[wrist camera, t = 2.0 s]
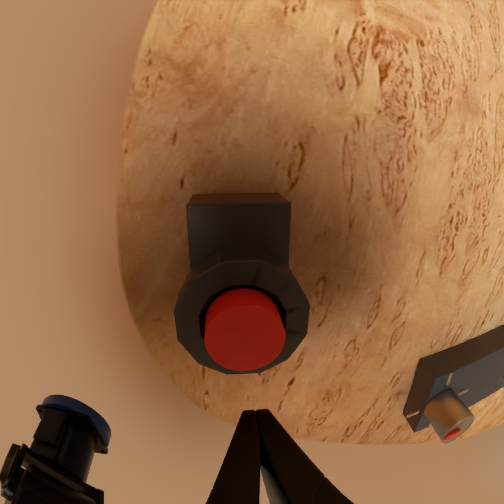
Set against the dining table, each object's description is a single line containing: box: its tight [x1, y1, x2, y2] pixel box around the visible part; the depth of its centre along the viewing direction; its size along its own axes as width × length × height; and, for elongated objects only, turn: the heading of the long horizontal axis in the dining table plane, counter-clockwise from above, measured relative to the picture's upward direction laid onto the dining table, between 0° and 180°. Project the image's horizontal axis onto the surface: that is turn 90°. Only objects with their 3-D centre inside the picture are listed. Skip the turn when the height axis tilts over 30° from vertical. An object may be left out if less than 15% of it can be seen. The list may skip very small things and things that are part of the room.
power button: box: [204, 288, 285, 371], centre depth 14 cm, size 4×4×2 cm
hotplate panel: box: [403, 325, 504, 433], centre depth 24 cm, size 20×8×3 cm, turn 96°
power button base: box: [174, 193, 310, 374], centre depth 16 cm, size 9×6×5 cm
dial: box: [424, 389, 474, 443], centre depth 20 cm, size 4×4×4 cm
